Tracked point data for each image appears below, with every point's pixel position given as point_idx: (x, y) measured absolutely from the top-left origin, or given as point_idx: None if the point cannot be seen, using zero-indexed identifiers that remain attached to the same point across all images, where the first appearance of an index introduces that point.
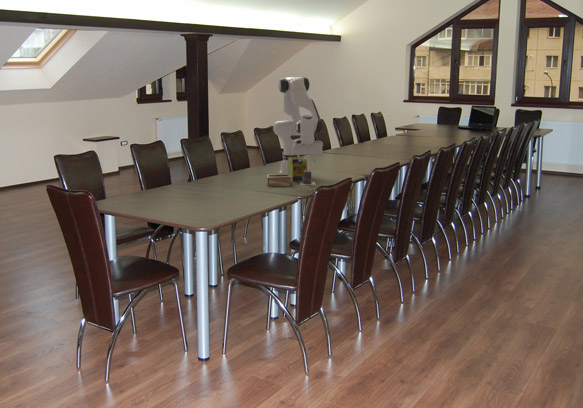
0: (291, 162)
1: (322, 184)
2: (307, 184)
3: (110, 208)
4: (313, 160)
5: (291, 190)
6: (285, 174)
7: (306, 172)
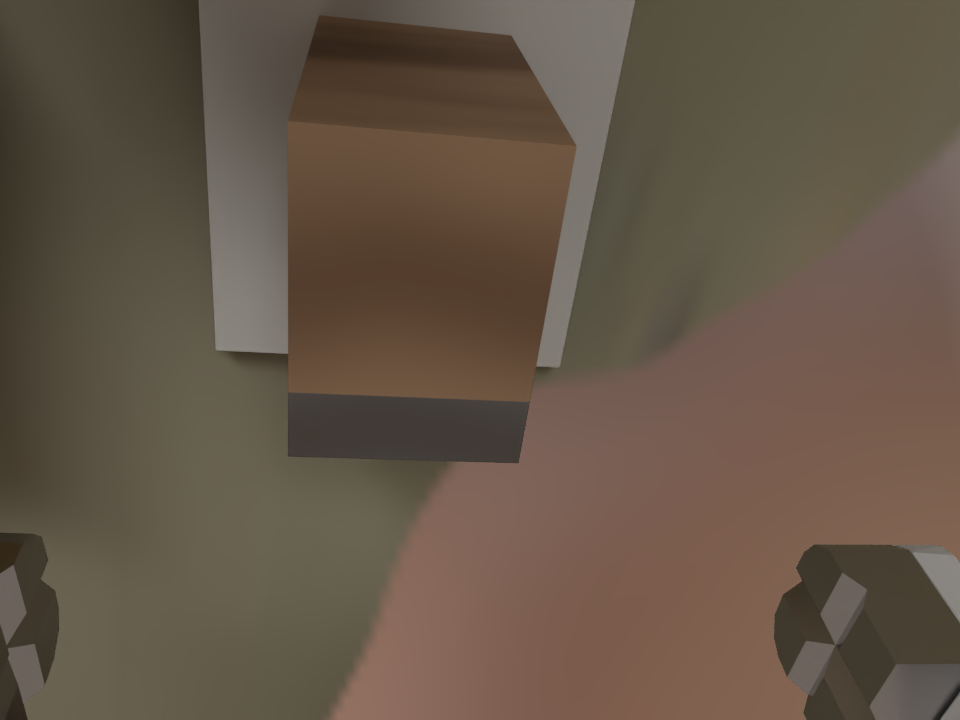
0: None
1: (744, 226)
2: None
3: None
4: (793, 680)
5: None
6: None
7: (358, 448)
